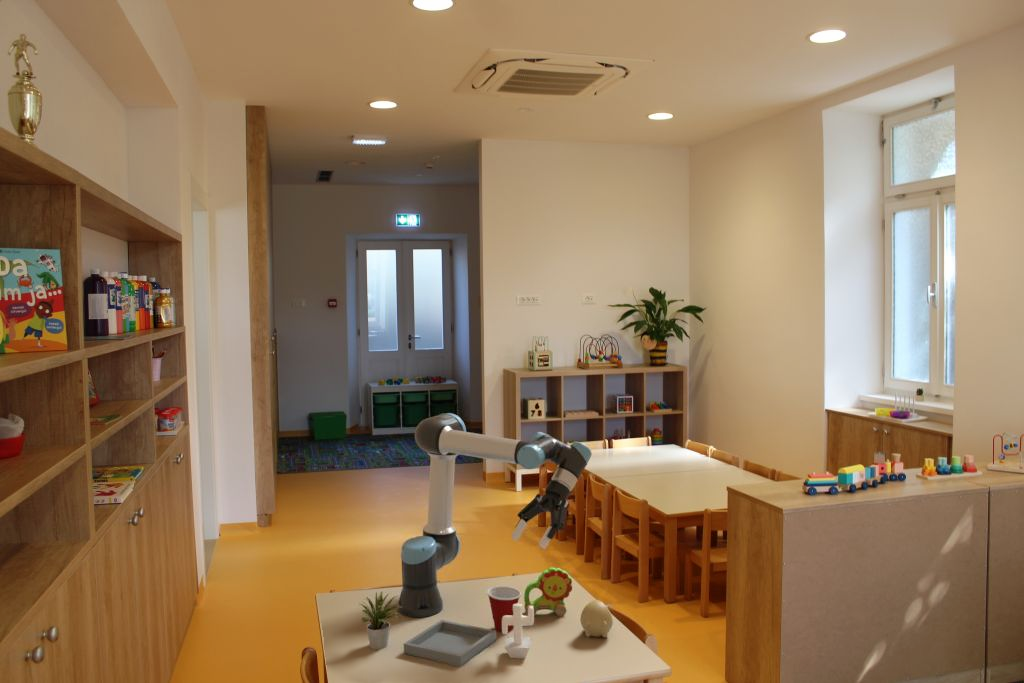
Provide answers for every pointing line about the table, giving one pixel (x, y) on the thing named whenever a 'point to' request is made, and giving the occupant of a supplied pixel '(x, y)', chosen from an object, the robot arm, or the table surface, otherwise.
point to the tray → (450, 642)
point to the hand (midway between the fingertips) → (527, 542)
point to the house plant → (378, 622)
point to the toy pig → (596, 619)
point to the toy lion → (550, 591)
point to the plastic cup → (502, 604)
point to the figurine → (517, 631)
